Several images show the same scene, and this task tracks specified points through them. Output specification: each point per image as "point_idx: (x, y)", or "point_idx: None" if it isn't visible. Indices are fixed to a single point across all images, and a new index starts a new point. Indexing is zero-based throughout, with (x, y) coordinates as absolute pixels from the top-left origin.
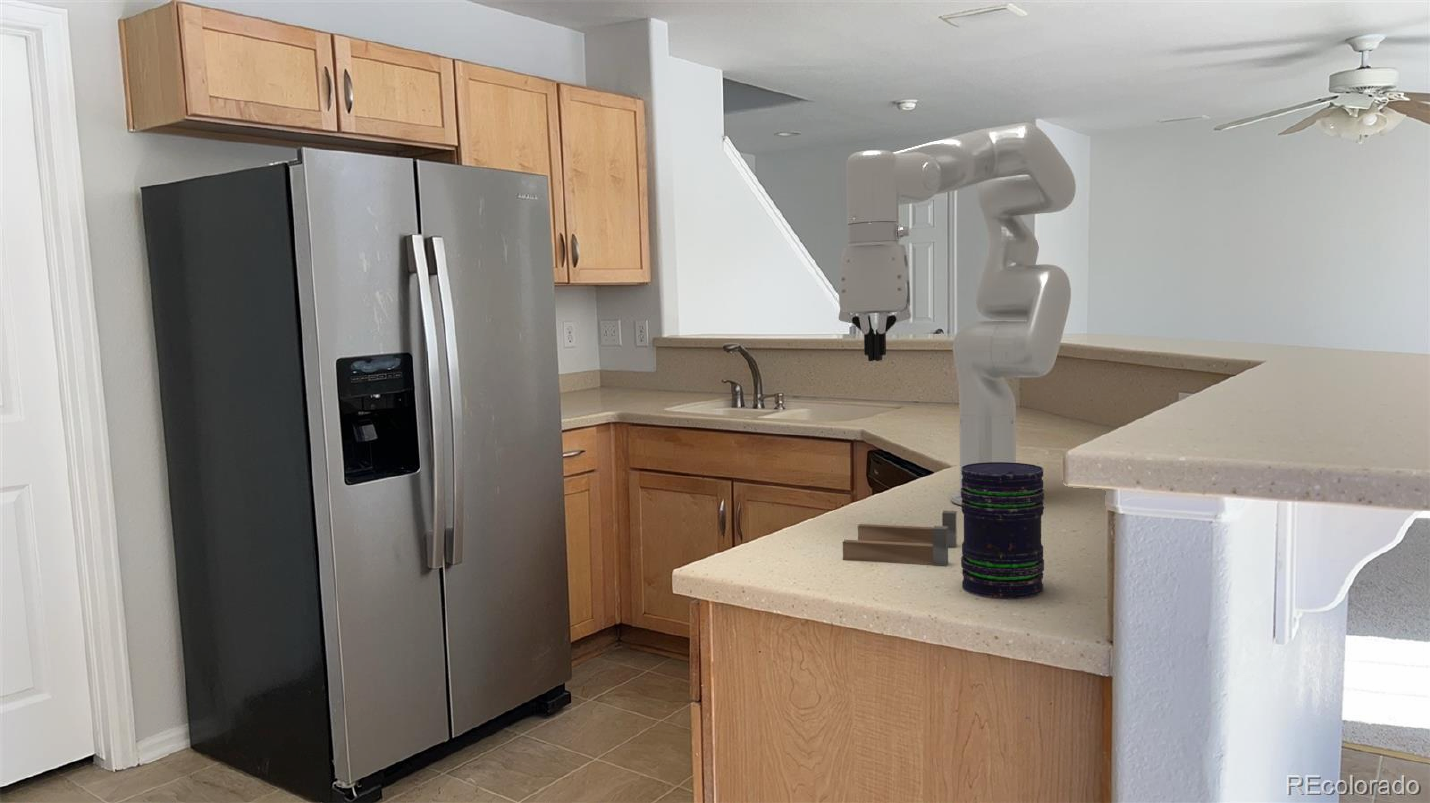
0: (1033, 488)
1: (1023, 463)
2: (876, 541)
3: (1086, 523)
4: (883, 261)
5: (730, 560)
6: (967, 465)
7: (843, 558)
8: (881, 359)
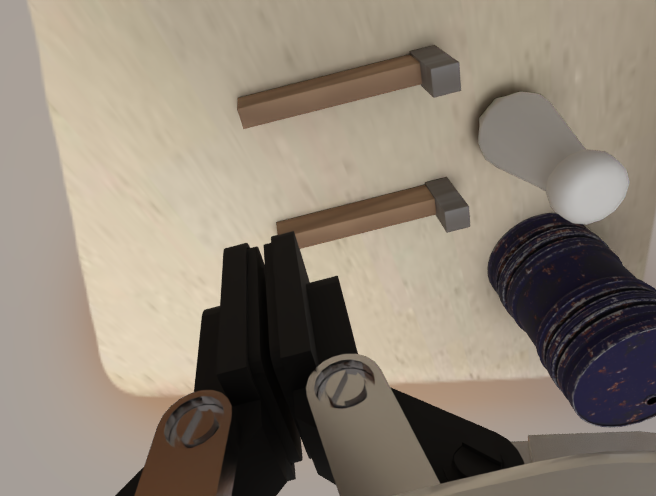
0: None
1: None
2: (335, 225)
3: None
4: None
5: (122, 316)
6: (580, 375)
7: None
8: (301, 257)
